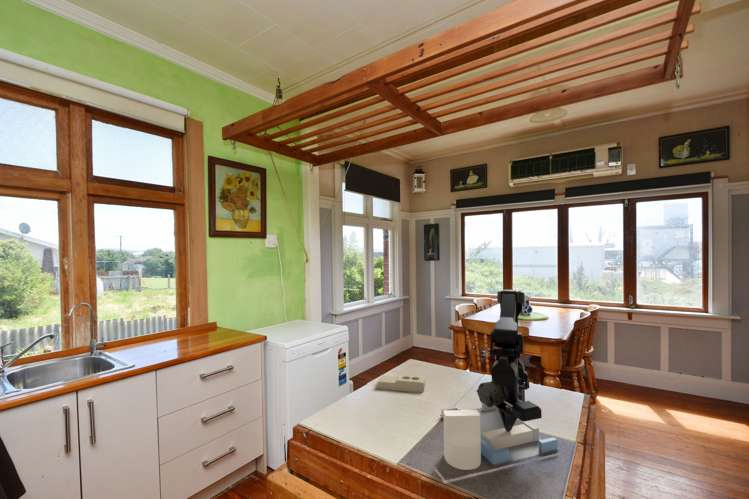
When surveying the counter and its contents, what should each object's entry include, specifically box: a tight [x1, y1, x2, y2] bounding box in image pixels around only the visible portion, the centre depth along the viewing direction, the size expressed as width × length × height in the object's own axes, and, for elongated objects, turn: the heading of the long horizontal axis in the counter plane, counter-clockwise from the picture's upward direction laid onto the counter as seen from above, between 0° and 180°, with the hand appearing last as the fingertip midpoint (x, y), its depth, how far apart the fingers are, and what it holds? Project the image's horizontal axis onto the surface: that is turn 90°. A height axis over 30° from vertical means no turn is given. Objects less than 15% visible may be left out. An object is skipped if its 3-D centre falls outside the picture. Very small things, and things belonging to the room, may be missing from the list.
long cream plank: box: [482, 421, 540, 450], centre depth 90 cm, size 16×4×3 cm, turn 108°
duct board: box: [439, 402, 559, 467], centre depth 96 cm, size 20×27×4 cm
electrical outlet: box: [377, 374, 426, 393], centre depth 131 cm, size 7×4×18 cm
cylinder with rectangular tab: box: [443, 409, 482, 471], centre depth 83 cm, size 9×9×12 cm
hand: (508, 430), depth 90 cm, fingers closed
